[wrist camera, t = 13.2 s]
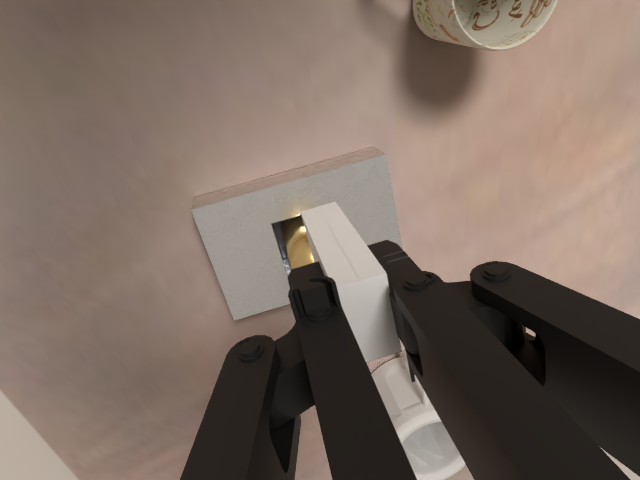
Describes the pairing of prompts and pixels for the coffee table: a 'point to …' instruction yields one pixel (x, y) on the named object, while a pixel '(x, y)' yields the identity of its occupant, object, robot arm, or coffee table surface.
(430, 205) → the coffee table surface
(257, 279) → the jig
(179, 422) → the coffee table surface
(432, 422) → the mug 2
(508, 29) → the mug
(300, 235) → the brass cylinder rod
